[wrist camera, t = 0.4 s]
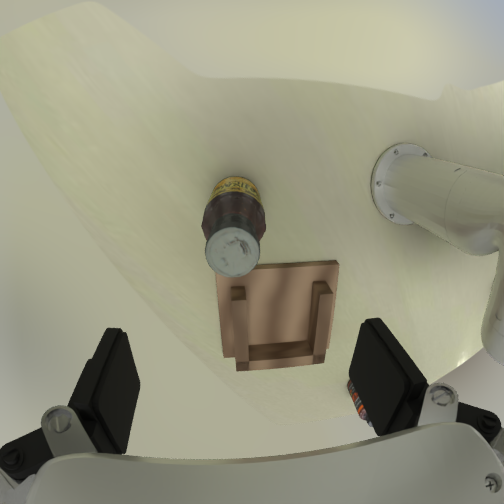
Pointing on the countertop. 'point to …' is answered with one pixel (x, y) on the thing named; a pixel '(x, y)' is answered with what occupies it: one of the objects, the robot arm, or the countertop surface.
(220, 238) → the sauce bottle
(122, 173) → the countertop surface
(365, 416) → the supplement bottle
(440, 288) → the countertop surface
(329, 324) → the bottle stand
